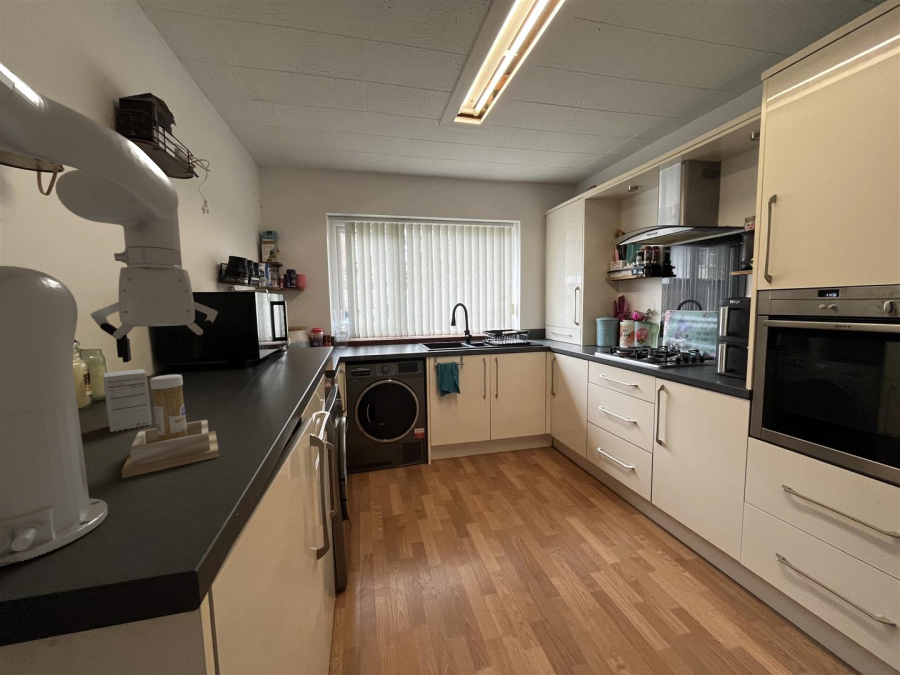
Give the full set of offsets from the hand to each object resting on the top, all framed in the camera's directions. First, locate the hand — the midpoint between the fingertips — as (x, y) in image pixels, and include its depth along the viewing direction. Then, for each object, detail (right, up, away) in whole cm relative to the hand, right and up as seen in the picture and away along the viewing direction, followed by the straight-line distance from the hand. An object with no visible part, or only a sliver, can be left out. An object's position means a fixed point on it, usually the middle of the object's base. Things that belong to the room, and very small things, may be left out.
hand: (163, 358), depth 64 cm
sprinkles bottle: (0, -17, +2) cm, 17 cm away
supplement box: (-24, -17, +20) cm, 36 cm away
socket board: (+1, -18, +2) cm, 18 cm away
